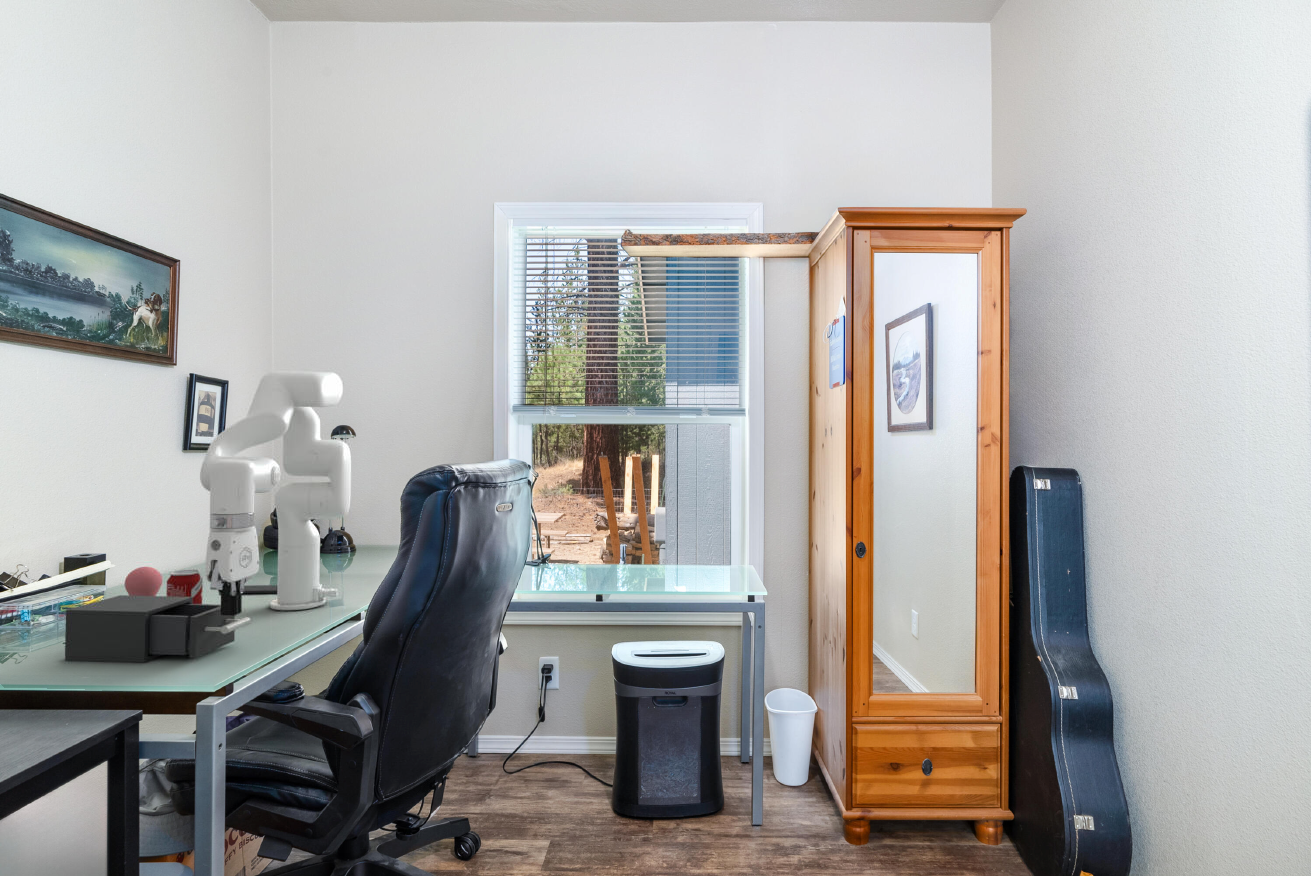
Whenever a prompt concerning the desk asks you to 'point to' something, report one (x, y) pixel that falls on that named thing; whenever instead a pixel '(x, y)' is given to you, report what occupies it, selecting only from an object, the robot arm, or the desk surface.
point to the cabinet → (114, 628)
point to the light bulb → (143, 582)
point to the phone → (260, 589)
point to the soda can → (185, 585)
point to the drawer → (191, 630)
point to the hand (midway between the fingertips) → (231, 614)
